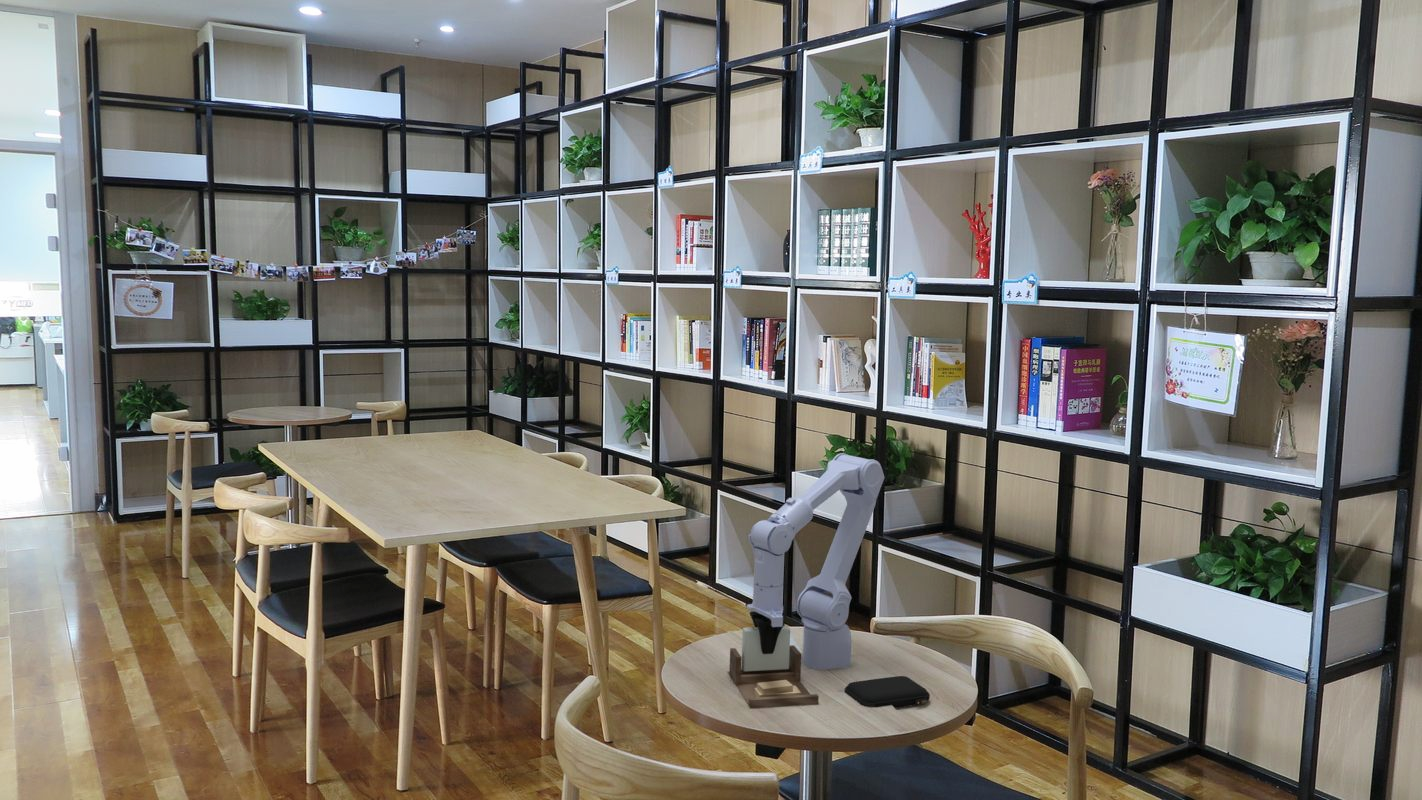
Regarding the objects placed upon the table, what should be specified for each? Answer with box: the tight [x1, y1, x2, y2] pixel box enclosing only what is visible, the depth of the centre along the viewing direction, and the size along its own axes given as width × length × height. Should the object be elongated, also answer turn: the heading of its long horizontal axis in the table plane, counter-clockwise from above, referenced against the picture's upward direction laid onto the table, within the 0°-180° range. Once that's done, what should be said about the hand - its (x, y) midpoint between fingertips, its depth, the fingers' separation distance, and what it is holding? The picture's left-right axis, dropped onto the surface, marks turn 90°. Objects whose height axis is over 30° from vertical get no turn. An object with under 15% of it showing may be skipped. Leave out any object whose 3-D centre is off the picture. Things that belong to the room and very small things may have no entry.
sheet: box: [741, 625, 791, 671], centre depth 208 cm, size 9×2×8 cm, turn 103°
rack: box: [726, 645, 820, 709], centre depth 204 cm, size 13×18×6 cm
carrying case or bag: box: [844, 675, 931, 709], centre depth 202 cm, size 11×3×15 cm
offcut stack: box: [754, 680, 801, 698], centre depth 200 cm, size 8×4×2 cm, turn 103°
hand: (765, 650), depth 208 cm, fingers closed on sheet, 2 cm apart
